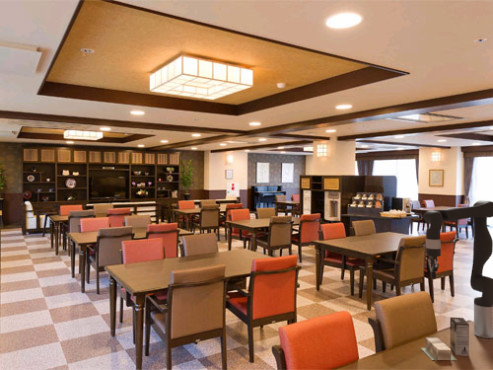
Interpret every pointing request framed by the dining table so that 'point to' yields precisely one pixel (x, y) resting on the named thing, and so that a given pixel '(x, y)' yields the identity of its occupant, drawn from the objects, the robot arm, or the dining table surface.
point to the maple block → (438, 348)
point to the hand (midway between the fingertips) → (433, 278)
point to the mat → (434, 356)
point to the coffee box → (459, 336)
